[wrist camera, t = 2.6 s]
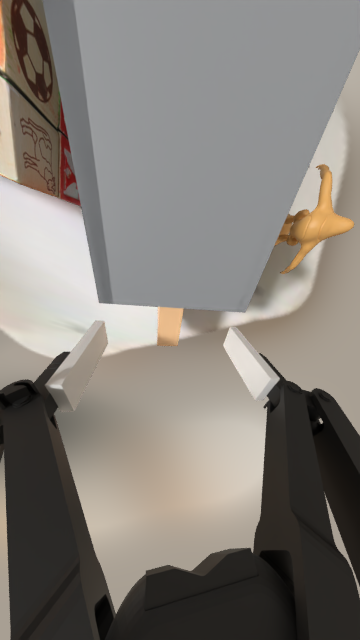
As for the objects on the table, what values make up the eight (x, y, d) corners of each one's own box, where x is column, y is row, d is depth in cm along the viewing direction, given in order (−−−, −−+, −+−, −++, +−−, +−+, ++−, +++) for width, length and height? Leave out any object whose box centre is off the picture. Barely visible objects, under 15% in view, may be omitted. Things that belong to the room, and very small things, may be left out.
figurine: (266, 260, 22) (359, 283, 12) (230, 263, 21) (294, 289, 11) (286, 190, 17) (466, 126, 7) (241, 191, 17) (366, 124, 7)
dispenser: (128, 133, 13) (-31, -384, 2) (223, 160, 15) (402, -49, 4) (133, 266, 20) (100, 308, 9) (199, 274, 21) (243, 316, 10)
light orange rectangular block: (163, 206, 16) (167, 181, 9) (183, 210, 17) (203, 189, 9) (157, 309, 23) (157, 345, 16) (171, 310, 24) (177, 346, 16)
